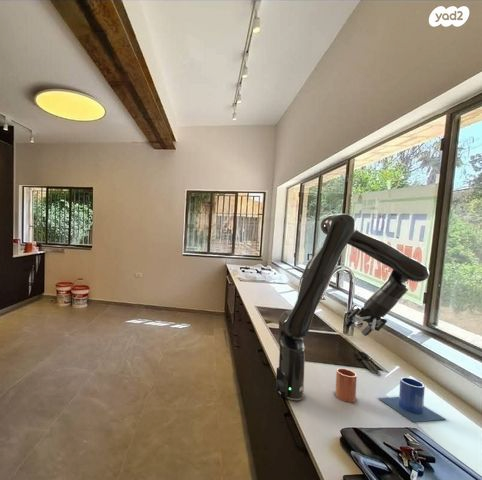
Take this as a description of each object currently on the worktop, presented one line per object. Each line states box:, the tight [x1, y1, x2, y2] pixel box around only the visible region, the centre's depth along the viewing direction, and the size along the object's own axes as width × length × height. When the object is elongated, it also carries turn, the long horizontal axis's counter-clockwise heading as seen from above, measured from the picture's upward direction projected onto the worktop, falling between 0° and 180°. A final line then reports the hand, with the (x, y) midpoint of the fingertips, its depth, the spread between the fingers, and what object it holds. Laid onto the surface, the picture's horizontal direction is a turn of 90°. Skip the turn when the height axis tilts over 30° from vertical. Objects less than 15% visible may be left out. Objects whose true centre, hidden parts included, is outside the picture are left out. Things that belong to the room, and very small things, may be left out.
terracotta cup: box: [334, 367, 358, 403], centre depth 107 cm, size 7×7×10 cm
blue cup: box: [398, 376, 426, 414], centre depth 100 cm, size 7×7×10 cm
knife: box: [354, 350, 381, 375], centre depth 136 cm, size 25×6×1 cm, turn 154°
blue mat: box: [378, 396, 446, 423], centre depth 101 cm, size 13×13×1 cm
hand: (354, 330), depth 114 cm, fingers open, 8 cm apart
